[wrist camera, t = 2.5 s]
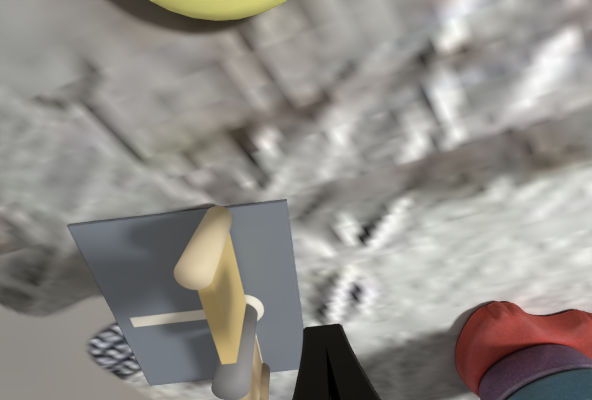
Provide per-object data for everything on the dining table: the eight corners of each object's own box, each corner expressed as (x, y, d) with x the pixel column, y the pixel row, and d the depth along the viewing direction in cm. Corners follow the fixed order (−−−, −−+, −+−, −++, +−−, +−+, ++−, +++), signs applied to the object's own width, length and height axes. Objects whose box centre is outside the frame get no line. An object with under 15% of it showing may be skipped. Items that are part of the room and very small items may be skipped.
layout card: (308, 364, 23) (308, 368, 22) (151, 382, 23) (149, 386, 22) (286, 199, 16) (286, 201, 16) (71, 223, 16) (67, 226, 16)
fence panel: (259, 322, 20) (252, 398, 15) (231, 326, 20) (216, 402, 15) (233, 204, 16) (212, 256, 11) (198, 208, 16) (163, 261, 11)
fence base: (271, 375, 22) (268, 459, 18) (249, 377, 23) (240, 462, 18) (259, 321, 20) (251, 401, 15) (235, 324, 20) (219, 405, 15)
